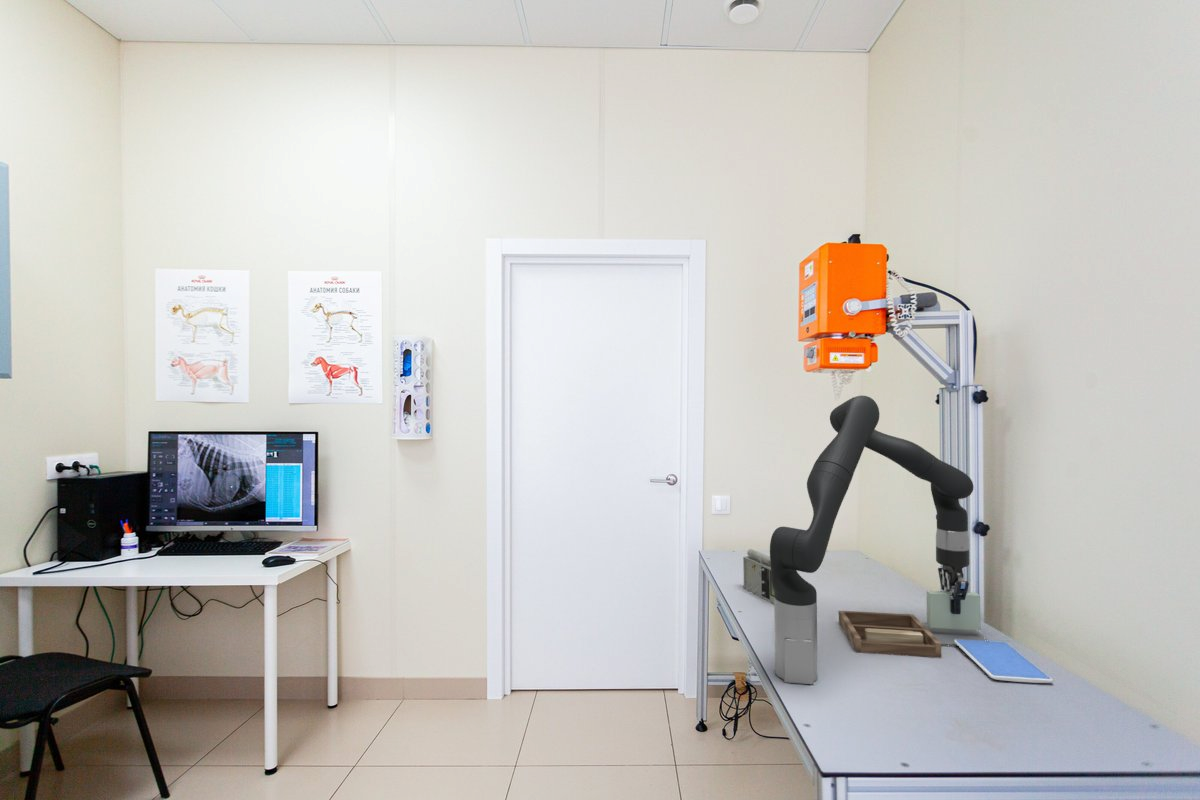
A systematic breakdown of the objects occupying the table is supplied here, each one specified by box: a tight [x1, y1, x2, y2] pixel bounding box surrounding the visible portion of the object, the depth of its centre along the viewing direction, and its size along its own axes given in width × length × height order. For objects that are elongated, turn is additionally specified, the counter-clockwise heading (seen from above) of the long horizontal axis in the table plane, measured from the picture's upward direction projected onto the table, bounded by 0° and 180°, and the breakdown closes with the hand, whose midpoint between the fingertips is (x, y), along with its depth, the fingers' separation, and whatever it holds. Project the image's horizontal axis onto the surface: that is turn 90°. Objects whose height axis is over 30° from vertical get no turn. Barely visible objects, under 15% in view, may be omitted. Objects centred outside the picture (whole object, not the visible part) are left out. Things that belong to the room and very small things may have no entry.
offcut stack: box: [864, 628, 923, 644], centre depth 144 cm, size 4×13×4 cm, turn 79°
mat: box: [921, 622, 988, 647], centre depth 151 cm, size 14×14×1 cm
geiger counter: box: [742, 548, 774, 605], centre depth 179 cm, size 14×6×25 cm
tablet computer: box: [954, 639, 1054, 684], centre depth 135 cm, size 19×13×1 cm, turn 171°
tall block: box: [926, 590, 982, 631], centre depth 151 cm, size 2×12×9 cm, turn 79°
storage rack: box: [838, 610, 942, 658], centre depth 149 cm, size 19×19×4 cm
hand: (953, 611), depth 151 cm, fingers closed on tall block, 2 cm apart
